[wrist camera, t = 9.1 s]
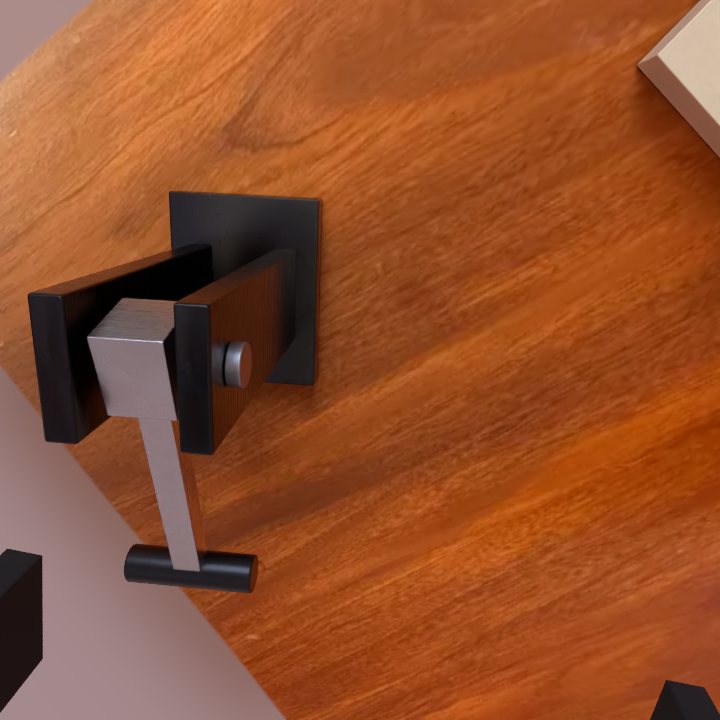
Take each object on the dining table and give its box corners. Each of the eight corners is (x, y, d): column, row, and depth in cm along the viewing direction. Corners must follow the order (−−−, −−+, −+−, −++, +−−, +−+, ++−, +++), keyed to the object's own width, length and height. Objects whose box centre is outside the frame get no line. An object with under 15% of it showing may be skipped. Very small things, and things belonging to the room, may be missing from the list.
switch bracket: (317, 378, 31) (248, 529, 17) (185, 368, 31) (20, 509, 18) (322, 198, 28) (246, 217, 15) (177, 190, 28) (-23, 201, 15)
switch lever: (262, 560, 25) (248, 612, 23) (146, 549, 25) (122, 599, 23) (236, 304, 18) (213, 345, 16) (78, 294, 18) (36, 333, 16)
